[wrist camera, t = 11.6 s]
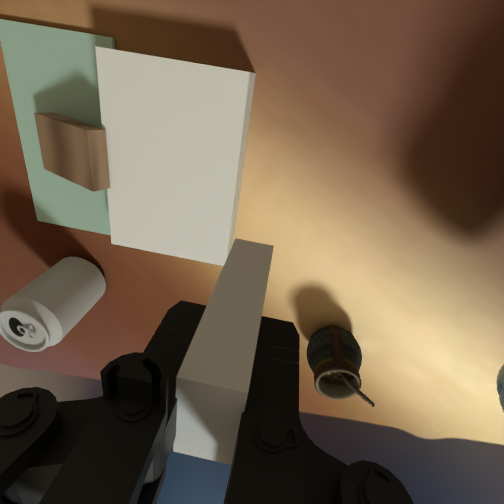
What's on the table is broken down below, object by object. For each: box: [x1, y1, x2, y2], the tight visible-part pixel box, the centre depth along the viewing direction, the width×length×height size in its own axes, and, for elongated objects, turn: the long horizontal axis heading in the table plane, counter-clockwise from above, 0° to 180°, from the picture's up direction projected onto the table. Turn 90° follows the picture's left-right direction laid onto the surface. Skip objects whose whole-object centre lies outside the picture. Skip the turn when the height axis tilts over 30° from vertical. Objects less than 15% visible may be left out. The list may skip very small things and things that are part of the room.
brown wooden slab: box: [34, 113, 110, 192], centre depth 34 cm, size 9×6×2 cm, turn 82°
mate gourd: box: [307, 325, 375, 407], centre depth 41 cm, size 7×8×10 cm
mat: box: [0, 19, 115, 235], centre depth 36 cm, size 12×22×1 cm, turn 172°
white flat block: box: [95, 46, 256, 266], centre depth 34 cm, size 14×20×4 cm
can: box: [0, 257, 106, 352], centre depth 41 cm, size 8×8×12 cm
